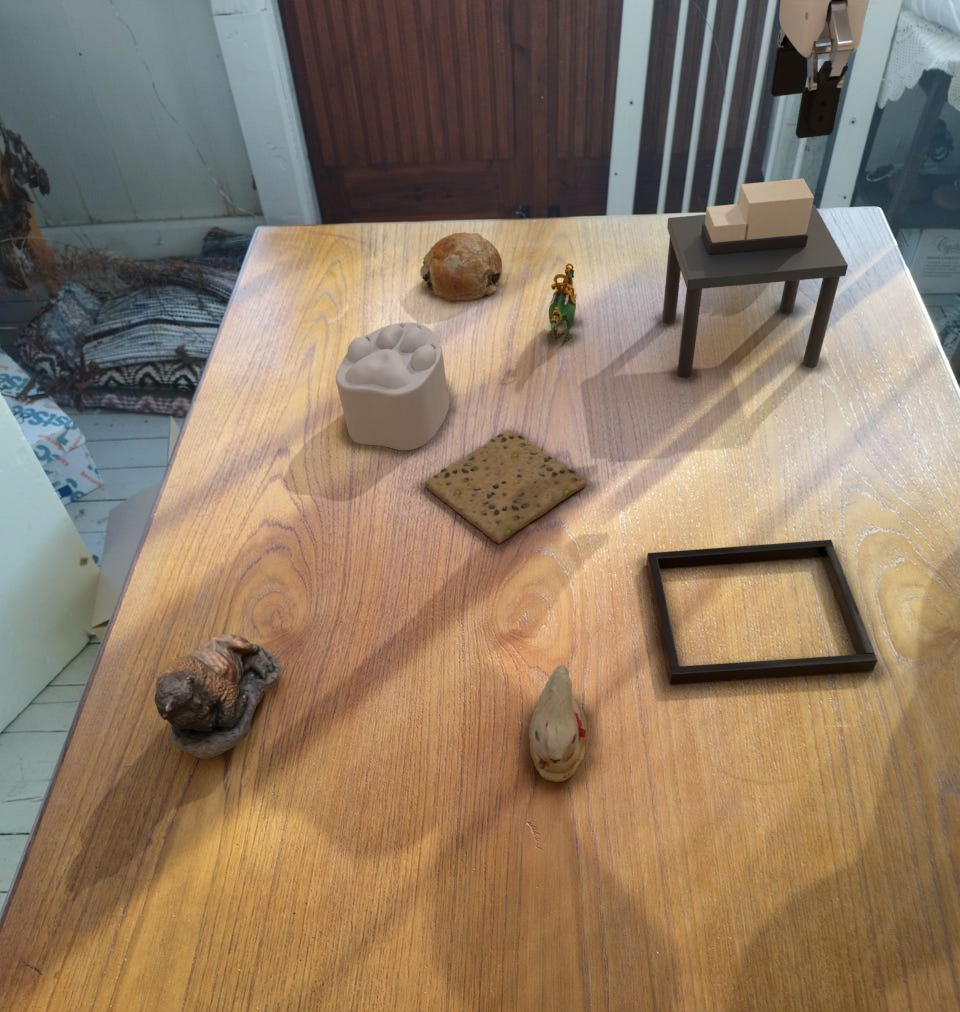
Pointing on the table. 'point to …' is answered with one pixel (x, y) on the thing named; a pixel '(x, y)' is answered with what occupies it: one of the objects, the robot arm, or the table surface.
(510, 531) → the cookie
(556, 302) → the figurine
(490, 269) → the bread roll
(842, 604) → the black rectangular frame
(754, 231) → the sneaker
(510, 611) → the table surface
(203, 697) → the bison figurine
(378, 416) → the lumpy-topped squat cylinder
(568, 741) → the chocolate bunny
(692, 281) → the small grey table
